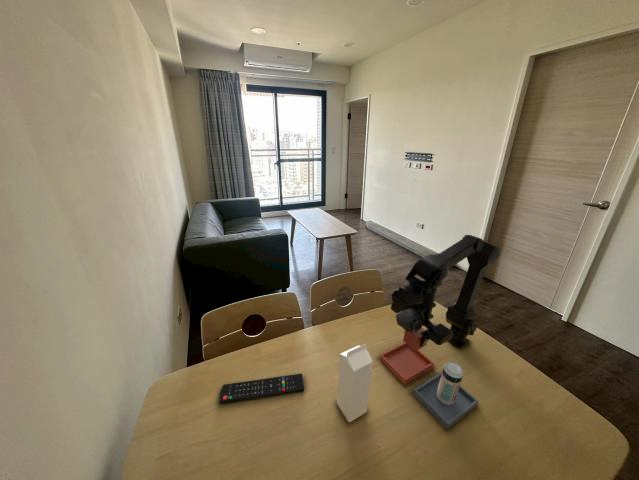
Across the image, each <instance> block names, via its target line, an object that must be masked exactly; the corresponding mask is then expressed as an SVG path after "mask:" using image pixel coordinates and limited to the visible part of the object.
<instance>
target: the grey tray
mask: <svg viewBox="0 0 639 480" xmlns="http://www.w3.org/2000/svg"><path fill="white" fill-rule="evenodd" d="M441 375H442V371H441V372H439V373H438V374H436V375H434V376H433V377H431V378H430V379H428V380H427V381H425V382H423V383H422V384H421V385H418V386H417V387H416V388H413V393H412V394H413V396H414V397H415V398H416V399H417V400H418V401H419V402H420V403H421V404H422V405H423V406H424V408H425V409H426V410H427V411H428V412H429V413H430V414H431V415H432V416H433V417H434V418H435V419H436V420H437V421H438V422H439V423H440V424H441V425H442V426H443V428H444V429H446V430H447V431H448V430H449V429H450V428H452V427H453V426H454V425H455V424H457V422H459V421H460V420H461V419H462V418H464V417H465V416H466V415H468V414H469V413H470V412H471V411H473V409H475V408H476V407H477V406H478V404H479V399H477V398H475V396H473V395H472V394H471V393H470V392H469V391H467V389H465V388H464V387H463V386H462V385H460V386H459V390H458V393H457V396H456V399H455V402H454V404H452V405H446V404H444V403H442V402H441V401H440V400H439V399H438V397H437V389H438V386H439V382H440V378H441Z"/></svg>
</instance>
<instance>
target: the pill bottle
mask: <svg viewBox="0 0 639 480" xmlns="http://www.w3.org/2000/svg"><path fill="white" fill-rule="evenodd" d="M441 372H442V375H441V378H440V382H439V386H438V389H437V397H438V399H439V400H440V401H441V402H442V403H444V404H446V405H452V404H454V402H455V399H456V396H457V393H458V390H459V386H461V383H462V380H463V376H464V371H463V368H462V367H461V365H460V364H458V363H456V362H454V361H448V362H446V363H445V364H444V365H443V367H442V371H441Z"/></svg>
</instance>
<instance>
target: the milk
mask: <svg viewBox="0 0 639 480" xmlns="http://www.w3.org/2000/svg"><path fill="white" fill-rule="evenodd" d="M338 363H339V364H338V379H337V393H336V394H337V395H336V405H337V406H338V408H339V409H340V412H341V413H342V414H343V416H344V417H345V419H346V421H347V422H348V423H351V422H353V421H354V420H356V419H358V418H360V417H361V416H363V415H364V414H366V413H367V411H368V404H369V395H370V388H371V380H372V373H373V364H374V361H373V359H372V356H371V355H370V353H369V350H368V349H367V343H365V344H362V345H356V346H354V347H352V348H349V349H347V350H345V351H342V352H341V353H339V362H338Z"/></svg>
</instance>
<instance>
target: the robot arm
mask: <svg viewBox="0 0 639 480" xmlns="http://www.w3.org/2000/svg"><path fill="white" fill-rule="evenodd" d="M500 255H501V250H500V248H499V246H498V245H497V244H493V243H491V242H488V241H485V240H483V238H481V237H477V236H475V235H472V234H465V235H464V236H462V238H461V239H460V240H459V241H457V242H455V243H454V244H452V245H451V246H449V247H447V248H446V249H444V250H443V251H441V252H439V253H437V254H436V253H435V254H428V255H425V256H423V257H420V258H419V259H418V260H417V261H416V262H415V263H414V265H413V266H412V268H411V269H410V270H409V272H408V274H407V275H406V276H405V281H407V282H408V284H403V285H400V286H399V287H398V289H396V290H394V291H393V292H392V293H391V301H392V302H391V304H390V310H391V311H392V312H394V313H395V314H396V315H395V319H396V324H397V325H398V326H399V327H401V328H402V329H403V330H404V332H405V331H407V332H409V331H412V330H413V331H415V332H417V331H418V330H419V329H420V328H423V327H424V328H425V329H424V330H425V331H423V332H421V334H422V339H421V344H420V346H421V347H422V346H424V345H425V344H426V343H427V344H428V342H429V341H431V342H432V343H434V344H435V345H436V346H441V345H444V344H446V343H447V342H449V343H451V344H453V345H454V346H455V347H456V348H458V349H461V348H462V347H464V346H466V345H468V344H470V343H471V341H470V340H469V339H468V338H467V337H469V336H474V335H475V332H476V331H477V328H478V326H477V324H476V323H475V322H474V320H475V317H476V313H475V311H474V310H475V309H474V307H473V306H474V303H475V301H476V298H477V296H478V292H479V289H480V286H481V284H482V281H483V279H484V276H485V274H486V271H487V269H489V268H490V267H492V266H494V265H495V263H496V261H497V260H498V259H499V258H500ZM465 259H467V263H468V267H467V271H466V274H465V276H464V279H463V282H462V285H461V288H460V291H459V294H458V297H457V300H456V302H455V303H453V304H452V305H449V306H448V307H447V310H446V312H445V322H446V323H448V324H450V328H449V327H448V326H446V325H444V324H443V323H442V322H441V323H440V322H439V323H438V324H437V323H436V322H433V321H431V320H432V319H433V318H434V314H433V309H434V308H436V306H437V303H435V299H436V295H437V290H438V287H439V286H442V285H443V283H442V282H443V280H445V278H446V277H448V273H449V270H450V269H451V268H453V267H454V266H455V265H457V264H459V263H460V262H462V261H463V260H465ZM416 276H417V277H416ZM418 277H419V278H418ZM420 278H421V279H420ZM427 344H426V345H427ZM424 347H425V346H424ZM422 348H423V347H422Z"/></svg>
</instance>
